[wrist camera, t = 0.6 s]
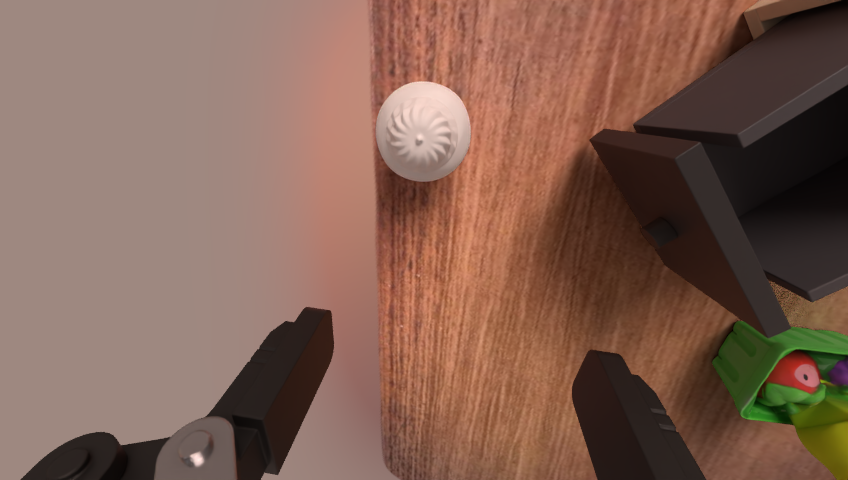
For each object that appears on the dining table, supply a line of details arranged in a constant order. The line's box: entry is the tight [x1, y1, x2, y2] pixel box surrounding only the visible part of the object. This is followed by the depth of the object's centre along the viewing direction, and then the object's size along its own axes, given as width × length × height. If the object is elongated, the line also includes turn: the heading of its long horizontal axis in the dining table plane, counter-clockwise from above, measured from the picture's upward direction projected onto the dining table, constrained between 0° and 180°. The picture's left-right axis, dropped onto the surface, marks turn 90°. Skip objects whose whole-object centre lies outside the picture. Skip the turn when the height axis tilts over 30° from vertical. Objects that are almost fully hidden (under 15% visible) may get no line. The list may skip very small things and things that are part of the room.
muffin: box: [376, 81, 471, 182], centre depth 20 cm, size 6×6×7 cm
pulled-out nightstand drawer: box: [590, 0, 848, 338], centre depth 18 cm, size 16×13×9 cm
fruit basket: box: [712, 321, 848, 480], centre depth 24 cm, size 11×9×11 cm
